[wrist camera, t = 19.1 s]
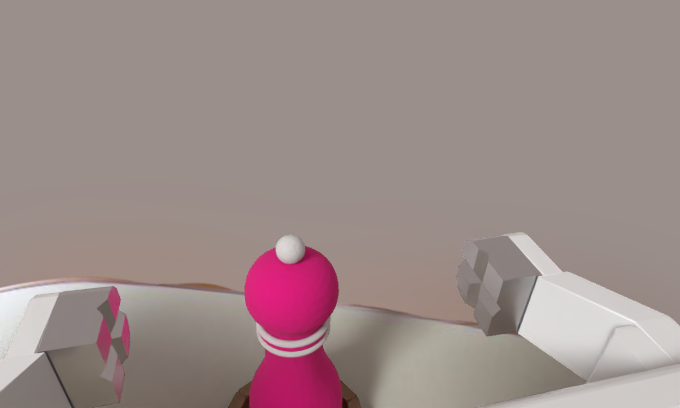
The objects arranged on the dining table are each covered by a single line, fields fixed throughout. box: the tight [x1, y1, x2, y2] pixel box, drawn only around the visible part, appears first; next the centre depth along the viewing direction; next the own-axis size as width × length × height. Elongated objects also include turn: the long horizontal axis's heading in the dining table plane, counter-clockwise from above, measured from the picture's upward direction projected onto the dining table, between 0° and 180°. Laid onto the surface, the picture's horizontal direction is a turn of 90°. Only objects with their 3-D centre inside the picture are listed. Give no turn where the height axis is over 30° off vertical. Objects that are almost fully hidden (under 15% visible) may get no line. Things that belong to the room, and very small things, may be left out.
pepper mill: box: [245, 235, 342, 408], centre depth 33 cm, size 7×7×20 cm
